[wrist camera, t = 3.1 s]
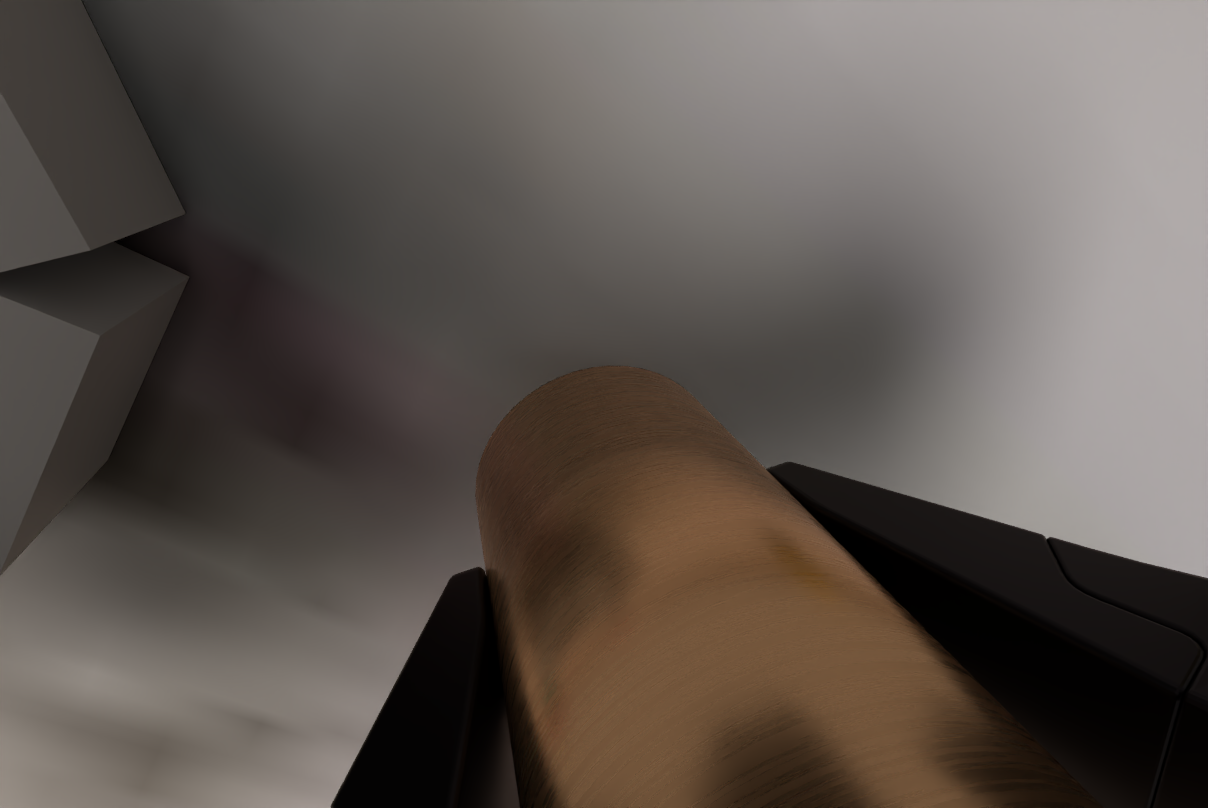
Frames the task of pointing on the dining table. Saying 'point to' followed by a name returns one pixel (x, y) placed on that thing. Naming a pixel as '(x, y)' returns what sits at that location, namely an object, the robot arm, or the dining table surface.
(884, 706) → the pipe stub
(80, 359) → the valve fitting
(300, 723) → the dining table surface
